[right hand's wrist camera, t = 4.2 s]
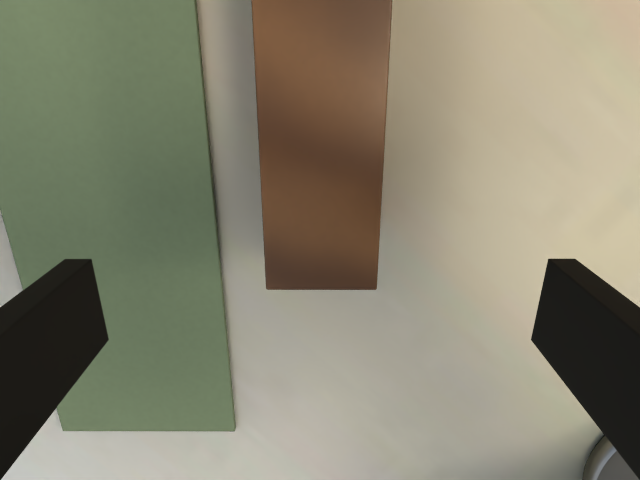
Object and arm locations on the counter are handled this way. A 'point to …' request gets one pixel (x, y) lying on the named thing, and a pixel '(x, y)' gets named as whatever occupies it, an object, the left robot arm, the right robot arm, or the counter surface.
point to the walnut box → (321, 139)
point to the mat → (120, 200)
